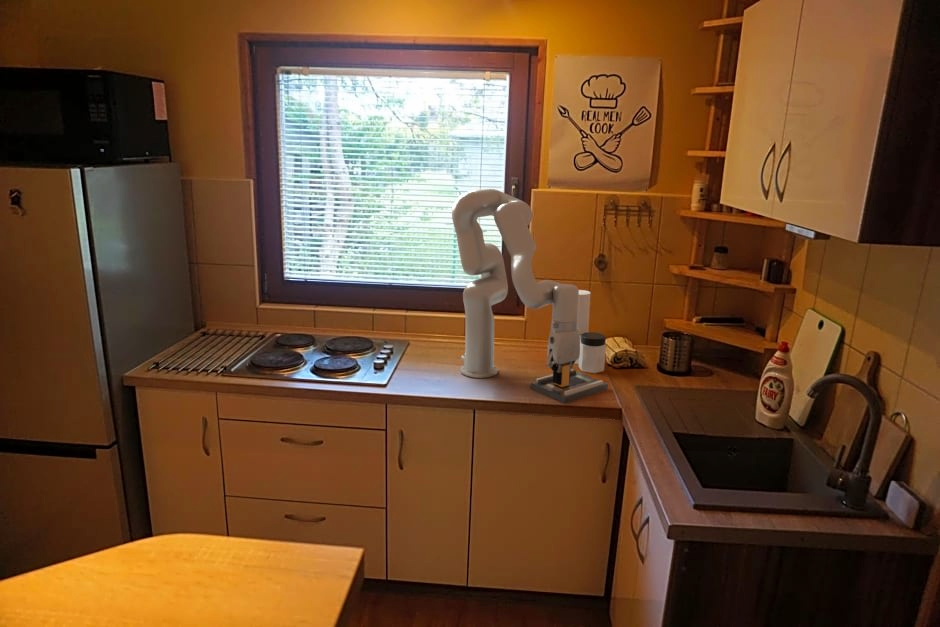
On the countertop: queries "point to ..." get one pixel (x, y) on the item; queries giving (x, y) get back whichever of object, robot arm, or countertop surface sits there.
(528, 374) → the countertop surface
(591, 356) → the jar
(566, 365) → the lever
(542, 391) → the panel
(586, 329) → the cylindrical container
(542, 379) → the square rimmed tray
